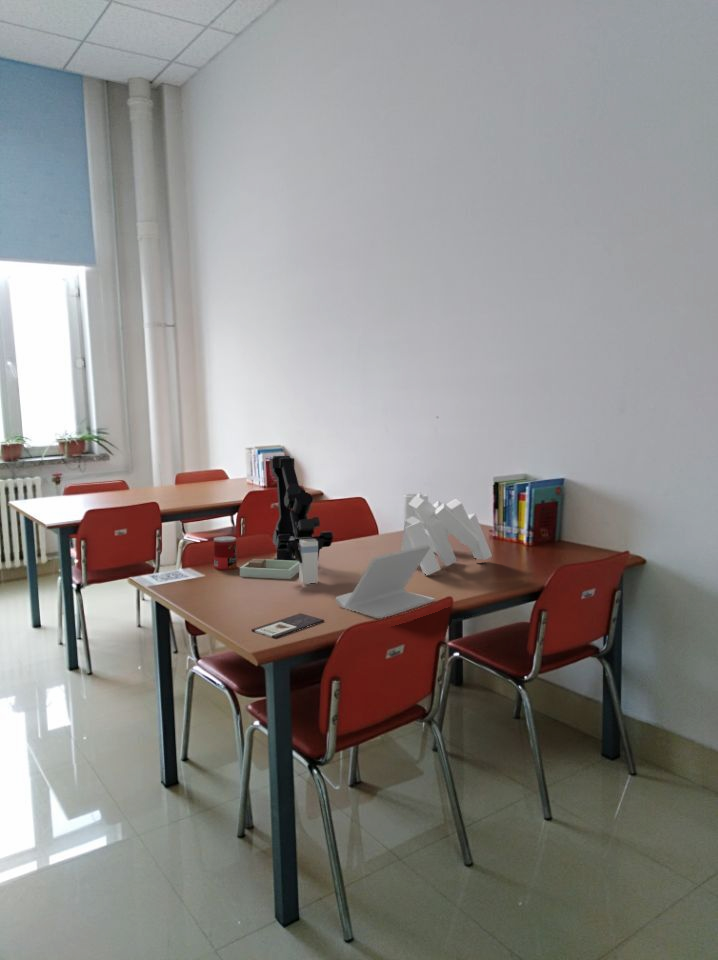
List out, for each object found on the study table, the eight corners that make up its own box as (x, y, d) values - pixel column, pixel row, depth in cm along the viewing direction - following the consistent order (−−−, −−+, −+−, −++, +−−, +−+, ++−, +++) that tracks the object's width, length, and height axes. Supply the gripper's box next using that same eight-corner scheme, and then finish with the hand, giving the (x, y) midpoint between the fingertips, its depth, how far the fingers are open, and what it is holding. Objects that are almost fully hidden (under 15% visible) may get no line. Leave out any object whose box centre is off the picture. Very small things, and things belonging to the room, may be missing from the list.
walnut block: (253, 570, 249) (253, 558, 248) (265, 570, 248) (265, 559, 247) (248, 573, 244) (248, 562, 243) (261, 574, 243) (261, 562, 243)
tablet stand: (435, 601, 214) (436, 545, 212) (380, 619, 196) (380, 559, 194) (390, 590, 226) (390, 537, 224) (334, 606, 208) (334, 549, 206)
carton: (299, 580, 236) (299, 539, 234) (313, 579, 238) (314, 538, 236) (302, 584, 231) (302, 542, 230) (317, 583, 233) (318, 541, 231)
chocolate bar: (324, 619, 193) (275, 636, 180) (324, 623, 193) (275, 640, 180) (300, 613, 199) (251, 629, 185) (300, 616, 199) (251, 632, 185)
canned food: (232, 571, 249) (231, 540, 247) (210, 570, 250) (209, 539, 249) (240, 566, 256) (239, 536, 255) (219, 565, 258) (218, 535, 256)
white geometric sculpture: (449, 567, 278) (407, 488, 275) (512, 547, 259) (468, 463, 256) (405, 612, 252) (358, 526, 249) (472, 594, 233) (423, 500, 230)
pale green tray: (253, 568, 253) (253, 558, 253) (301, 570, 250) (301, 561, 249) (239, 577, 240) (239, 567, 240) (290, 580, 237) (289, 570, 236)
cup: (399, 545, 292) (399, 493, 290) (423, 544, 295) (424, 493, 292) (407, 551, 282) (407, 497, 280) (431, 549, 285) (432, 496, 282)
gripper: (277, 510, 233) (285, 550, 223) (331, 507, 239) (341, 546, 229) (272, 529, 241) (279, 569, 232) (325, 526, 247) (334, 564, 238)
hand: (309, 561), depth 232 cm, fingers closed on carton, 5 cm apart
